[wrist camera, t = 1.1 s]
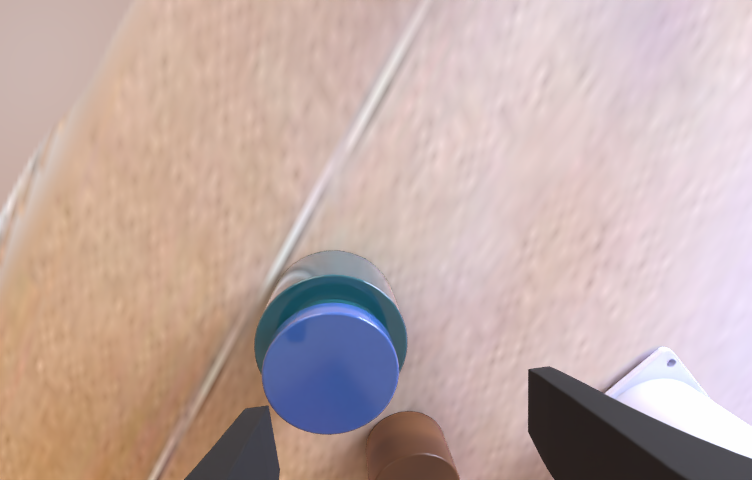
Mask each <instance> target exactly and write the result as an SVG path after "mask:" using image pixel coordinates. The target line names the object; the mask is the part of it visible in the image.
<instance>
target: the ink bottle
mask: <svg viewBox="0 0 752 480" xmlns="http://www.w3.org/2000/svg"><path fill="white" fill-rule="evenodd" d="M254 350H255V358H256V362H257V366H258V368H259V371H260V373H261V375H262V384H263V388H264V392H265V395H266V397H267V399H268V401H269V403H270V405H271V406H272V408H273V409H274V410H275V412H276V413H277V414H278V415H279V416H280V417H281V418H282V419H284V420H285V421H286V422H288V423H289V424H291V425H293V426H294V427H296V428H298V429H301V430H304V431H307V432H311V433H315V434H328V435H331V434H341V433H345V432H349V431H352V430H355V429H358V428H360V427H362V426H364V425H366V424H367V423H369V422H371V421H372V420H373V419H375V418H376V417H377V416H378V415H379V414H380V413H381V412H382V411H383V410H384V409H385V408H386V406H387V405H388V404H389V402H390V400H391V399H392V397H393V395H394V392H395V390H396V387H397V383H398V377H399V373H400V371H401V369H402V366H403V364H404V361H405V357H406V353H407V332H406V326H405V323H404V320H403V317H402V315H401V312H400V310H399V307H398V305H397V302H396V300H395V297H394V294H393V292H392V289H391V287H390V285H389V283H388V281H387V279H386V278H385V276H384V275H383V273H382V272H381V271H380V270H379V269H378V268H377V267H376V266H375V265H374V264H372V263H371V262H369V261H368V260H366V259H365V258H363V257H361V256H358V255H356V254H353V253H349V252H344V251H323V252H318V253H314V254H311V255H308V256H306V257H304V258H302V259H300V260H299V261H297V262H296V263H294V264H293V265H292V266H291V267H289V268H288V269H287V270H286V271H285V273H284V274H283V275H282V276H281V278H280V279H279V281H278V282H277V284H276V286H275V288H274V291H273V293H272V295H271V297H270V299H269V301H268V303H267V305H266V307H265V310H264V312H263V314H262V316H261V318H260V320H259V323H258V326H257V329H256V334H255V341H254Z"/></svg>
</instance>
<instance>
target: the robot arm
mask: <svg viewBox="0 0 752 480" xmlns="http://www.w3.org/2000/svg"><path fill="white" fill-rule="evenodd" d="M668 361H669V362H668ZM667 362H668V363H667ZM528 432H529V434H530V436H531V438H532V440H533V442H534V444H535V446H536V448H537V450H538V452H539V454H540V456H541V458H542V460H543V462H544V464H545V466H546V467H547V469H548V471H549V472H550V474H551V475H552V477H553V478H554V480H752V427H751V426H750V425H748V424H747V423H745V422H743V421H742V420H740V419H739V418H737V417H736V416H734V415H733V414H731V413H730V412H728V411H727V410H725V409H724V408H722V407H721V406H719V405H718V404H716V403H715V402H713V401H712V400H711V399H710V398H709V396H708V395H707V394H706V393H705V391H704V390H703V389H702V387H701V386H700V385H699V384H698V382H697V381H696V380H695V379H694V377H693V376H692V375H691V374H690V372H689V371H688V370H687V368H686V367H685V366H684V365H683V363H682V362H681V361H680V360H679V358H678V357H677V356H676V355H675V353H674V352H673V351H672V350H670V349H669V348H667V347H660V348H659V349H657V350H656V351H655V352H654V353H652V354H651V355H650V356H649V357H648V358H646V359H645V360H644V361H643V362H642V363H640V364H639V365H638V366H637V367H635V368H634V369H633V370H632V371H631V372H629V373H628V374H627V375H626V376H625V377H623V378H622V379H621V380H620V381H619V382H617V383H616V384H615V385H614V386H613V387H611V388H610V389H609V390H608V391H607V392H605V393H602V392H600V391H598V390H596V389H594V388H592V387H590V386H588V385H586V384H584V383H583V382H581V381H579V380H577V379H575V378H573V377H571V376H569V375H567V374H565V373H563V372H561V371H559V370H556V369H554V368H552V367H550V366H549V367H542V368H534V369H528ZM279 473H280V468H279V462H278V457H277V451H276V445H275V440H274V434H273V428H272V423H271V417H270V412H269V406H261V407H254V408H246V409H245V410H244V411H243V412H242V413H241V414H240V415H239V416H238V418H237V419H236V420H235V421H234V422H233V424H232V425H231V426H230V427H229V428H228V430H227V431H226V432H225V433H224V434H223V435H222V437H221V438H220V439H219V440H218V441H217V443H216V444H215V445H214V446H213V447H212V449H211V450H210V451H209V452H208V453H207V454H206V455H205V457H204V458H203V459H202V460H201V461H200V462H199V464H198V465H197V466H196V467H195V468H194V469H193V470H192V472H191V473H190V474H189V475H188V476H187V477H186V478H185V479H184V480H279Z"/></svg>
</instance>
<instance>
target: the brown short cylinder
mask: <svg viewBox="0 0 752 480" xmlns="http://www.w3.org/2000/svg"><path fill="white" fill-rule="evenodd" d="M366 457H367V467H368V478H369V480H460V478H459V475H458V472H457V470H456V467H455V464H454V462H453V459H452V456H451V454H450V451H449V448H448V446H447V443H446V440H445V438H444V435H443V432H442V430H441V428H440V427H439V425H438V424H437V423H436V422H435V421H434V420H433V419H432V418H430V417H428V416H427V415H424V414H422V413H418V412H408V411H407V412H400V413H396V414H393V415H390V416H388V417H386V418H385V419H383V420H382V421H380V422H379V423H378V424H377V425H376V426H375V427H374V429H373V430H372V431H371V433H370V435H369V437H368V440H367V444H366Z"/></svg>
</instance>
